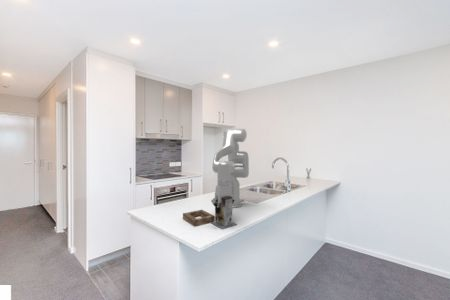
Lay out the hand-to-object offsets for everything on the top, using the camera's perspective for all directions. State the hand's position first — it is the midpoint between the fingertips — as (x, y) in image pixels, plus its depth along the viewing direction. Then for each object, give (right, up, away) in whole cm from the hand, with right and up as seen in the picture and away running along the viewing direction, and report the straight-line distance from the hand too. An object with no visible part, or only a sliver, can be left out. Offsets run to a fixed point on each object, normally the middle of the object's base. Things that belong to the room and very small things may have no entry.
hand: (223, 212), depth 124 cm
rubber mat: (0, -7, 0) cm, 7 cm away
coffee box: (0, -7, 0) cm, 7 cm away
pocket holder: (-16, -7, +7) cm, 19 cm away
